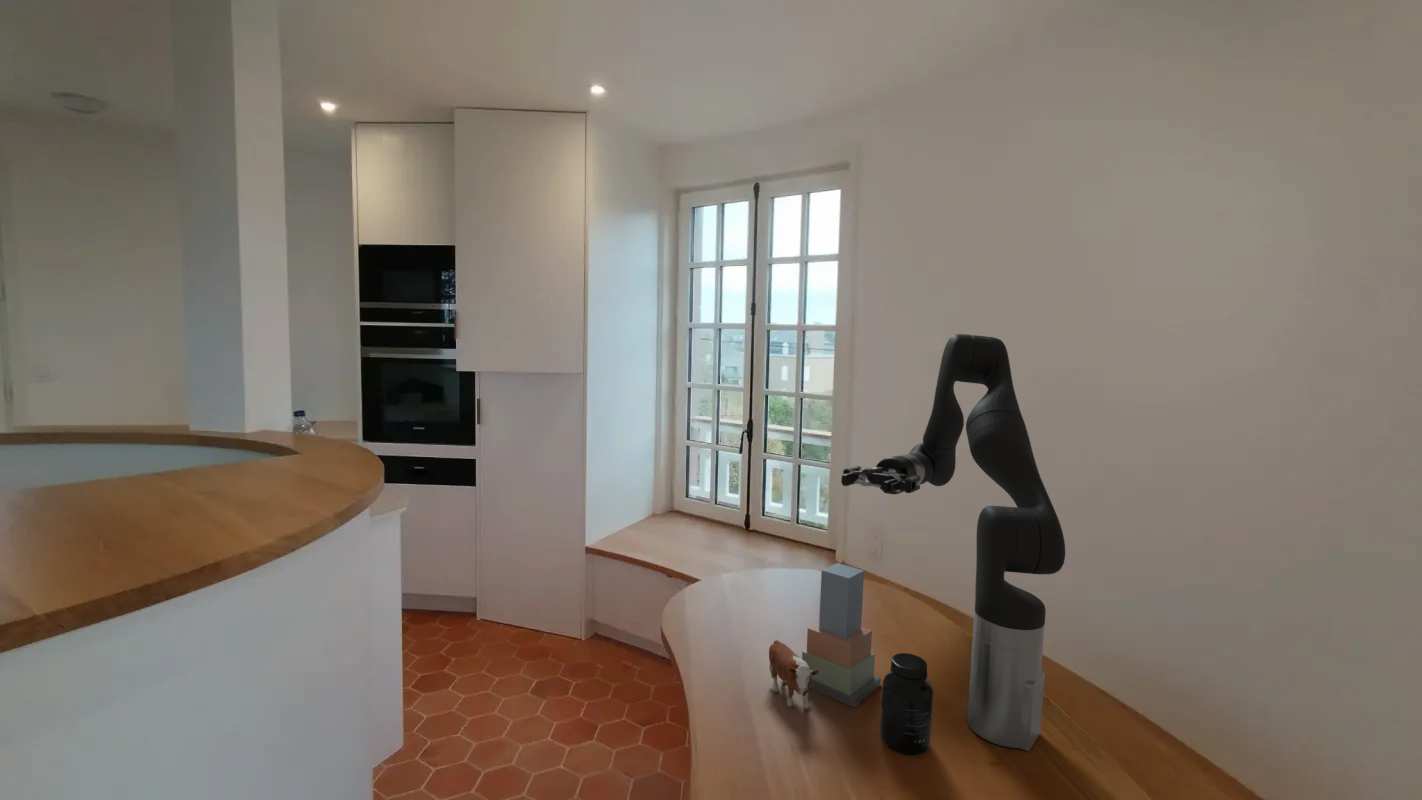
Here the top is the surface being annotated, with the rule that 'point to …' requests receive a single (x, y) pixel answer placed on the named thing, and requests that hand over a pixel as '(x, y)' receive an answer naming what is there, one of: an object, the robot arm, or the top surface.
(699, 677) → the top surface
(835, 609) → the column brick
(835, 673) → the brick tower
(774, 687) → the bull figurine
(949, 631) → the top surface
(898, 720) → the supplement bottle
